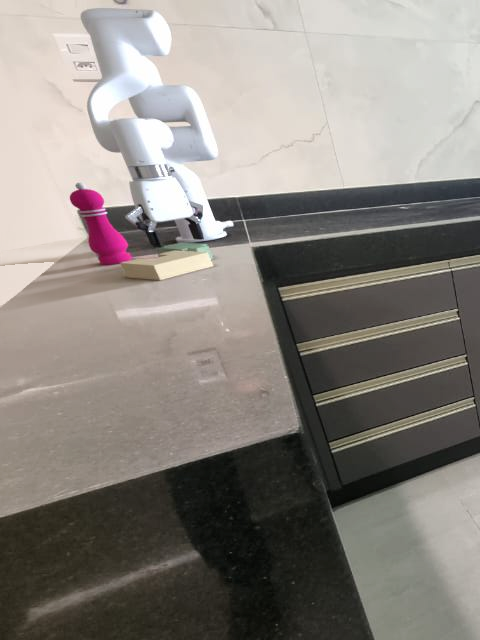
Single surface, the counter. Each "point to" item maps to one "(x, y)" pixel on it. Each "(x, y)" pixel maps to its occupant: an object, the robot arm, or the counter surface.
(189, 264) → the sand pad
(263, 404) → the counter surface
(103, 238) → the pepper mill
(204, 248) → the sage pad
